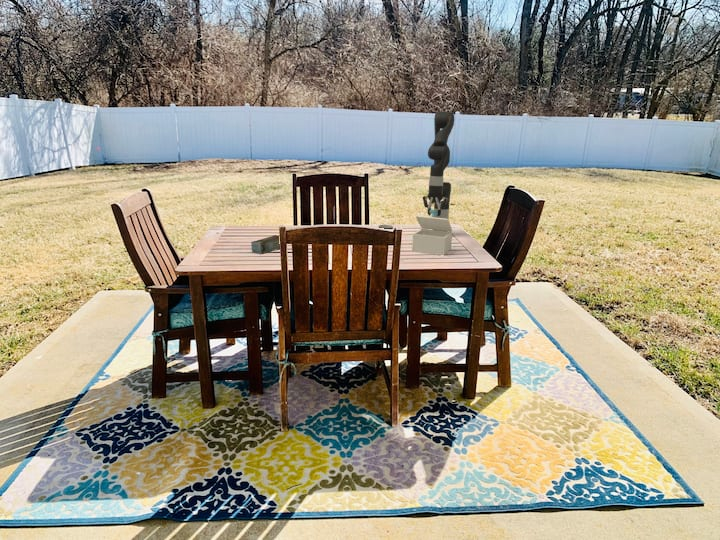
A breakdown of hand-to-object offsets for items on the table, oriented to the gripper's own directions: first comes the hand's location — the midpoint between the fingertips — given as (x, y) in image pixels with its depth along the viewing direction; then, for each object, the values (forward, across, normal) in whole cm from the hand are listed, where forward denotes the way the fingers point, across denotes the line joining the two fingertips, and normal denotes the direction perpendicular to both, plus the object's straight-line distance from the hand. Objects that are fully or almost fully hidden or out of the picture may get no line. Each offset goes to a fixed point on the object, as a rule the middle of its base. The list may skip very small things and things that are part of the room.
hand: (434, 215), depth 275 cm
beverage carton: (+21, +81, +40) cm, 93 cm away
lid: (+5, 0, -1) cm, 5 cm away
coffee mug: (+20, +28, -3) cm, 35 cm away
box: (+20, 0, 0) cm, 20 cm away
